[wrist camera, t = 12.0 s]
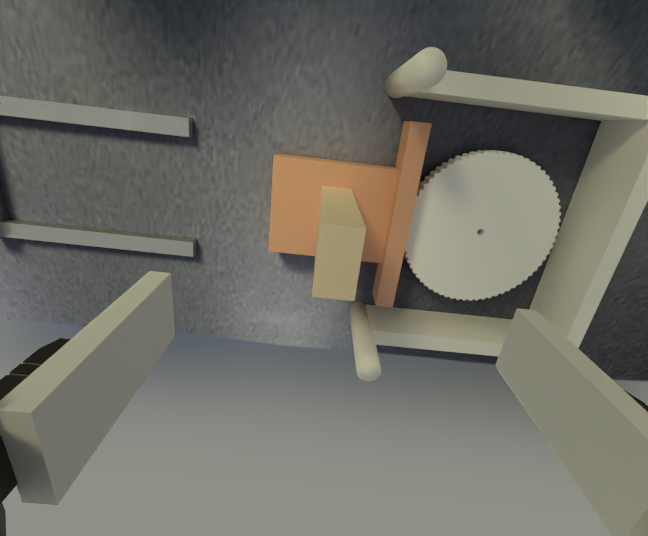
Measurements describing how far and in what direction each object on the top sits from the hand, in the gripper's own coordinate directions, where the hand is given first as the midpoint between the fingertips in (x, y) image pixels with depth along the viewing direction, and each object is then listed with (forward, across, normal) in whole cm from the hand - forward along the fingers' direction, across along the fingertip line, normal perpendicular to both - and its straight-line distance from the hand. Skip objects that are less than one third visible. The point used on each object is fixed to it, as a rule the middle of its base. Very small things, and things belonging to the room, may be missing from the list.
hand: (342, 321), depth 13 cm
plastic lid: (+22, +14, -1) cm, 26 cm away
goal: (+21, +13, 0) cm, 25 cm away
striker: (+21, +1, 0) cm, 21 cm away
